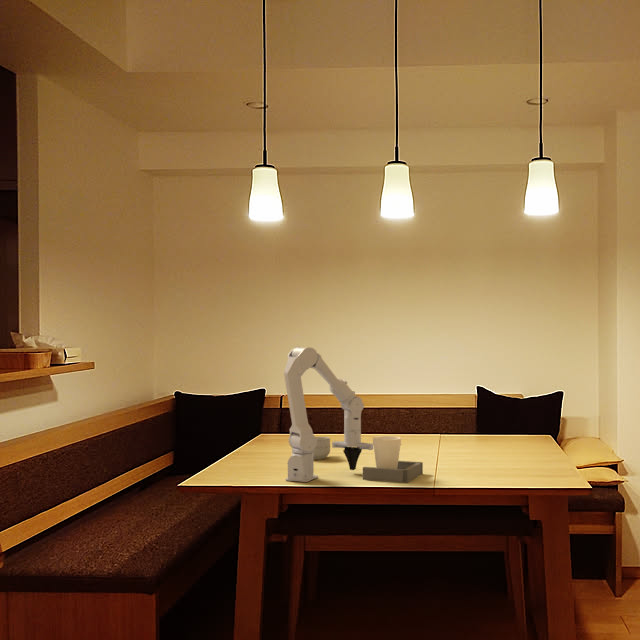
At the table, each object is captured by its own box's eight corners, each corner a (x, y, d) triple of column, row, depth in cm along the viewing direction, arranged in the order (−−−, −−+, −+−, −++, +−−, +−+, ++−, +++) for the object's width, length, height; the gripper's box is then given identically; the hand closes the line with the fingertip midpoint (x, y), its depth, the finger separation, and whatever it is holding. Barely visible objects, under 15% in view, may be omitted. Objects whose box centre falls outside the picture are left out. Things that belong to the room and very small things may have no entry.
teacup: (317, 462, 309) (317, 440, 309) (296, 458, 316) (296, 438, 316) (341, 457, 319) (341, 436, 319) (320, 454, 327) (319, 434, 327)
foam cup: (386, 472, 287) (386, 434, 286) (406, 476, 280) (406, 438, 279) (367, 475, 280) (367, 437, 280) (386, 480, 273) (386, 441, 273)
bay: (407, 482, 268) (407, 470, 268) (362, 479, 275) (362, 467, 275) (422, 473, 284) (422, 462, 284) (380, 470, 290) (380, 459, 290)
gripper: (376, 429, 286) (376, 469, 286) (337, 427, 292) (337, 466, 292) (369, 432, 279) (369, 472, 279) (329, 430, 285) (330, 469, 285)
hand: (352, 469), depth 285 cm, fingers closed
